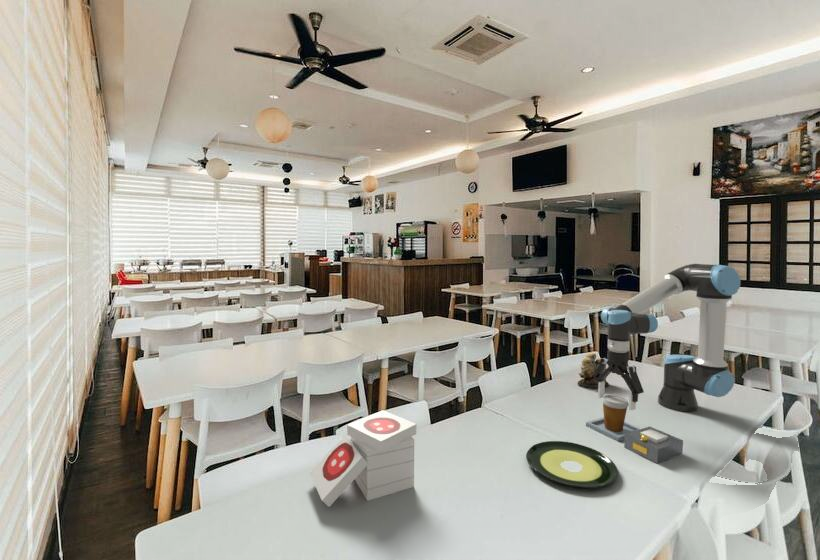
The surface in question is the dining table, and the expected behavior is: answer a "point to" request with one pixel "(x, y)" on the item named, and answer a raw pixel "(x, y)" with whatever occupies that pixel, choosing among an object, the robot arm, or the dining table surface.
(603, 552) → the dining table surface
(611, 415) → the disposable coffee cup
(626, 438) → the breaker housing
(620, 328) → the robot arm
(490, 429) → the dining table surface
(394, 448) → the pizza boxes
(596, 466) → the plate
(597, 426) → the tray
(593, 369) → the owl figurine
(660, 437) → the button
